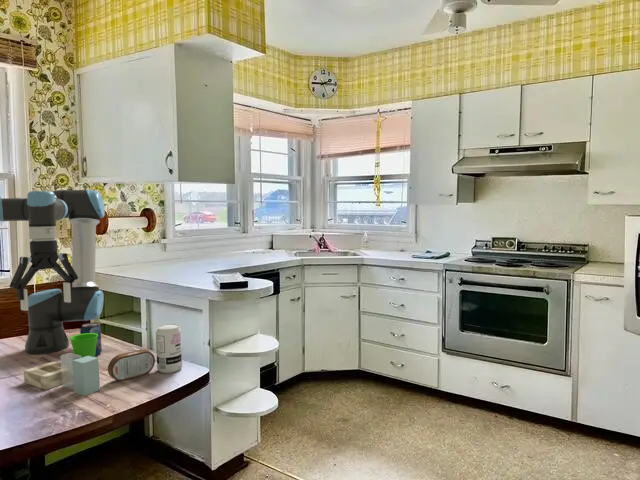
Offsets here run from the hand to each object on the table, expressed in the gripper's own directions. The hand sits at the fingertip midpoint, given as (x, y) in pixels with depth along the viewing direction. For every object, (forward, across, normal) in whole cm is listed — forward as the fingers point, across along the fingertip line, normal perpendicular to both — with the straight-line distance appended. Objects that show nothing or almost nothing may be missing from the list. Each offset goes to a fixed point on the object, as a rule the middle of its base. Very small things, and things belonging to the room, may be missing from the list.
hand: (46, 306), depth 148 cm
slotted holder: (+25, 0, 0) cm, 25 cm away
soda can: (+25, +23, +12) cm, 36 cm away
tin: (+25, +16, -20) cm, 36 cm away
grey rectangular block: (+25, +1, -11) cm, 27 cm away
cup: (+25, +14, +2) cm, 28 cm away
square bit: (+25, +1, -18) cm, 31 cm away
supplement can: (+25, +26, -26) cm, 44 cm away
